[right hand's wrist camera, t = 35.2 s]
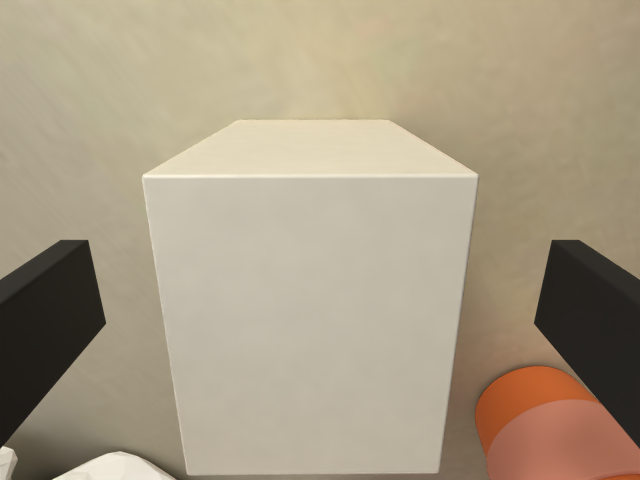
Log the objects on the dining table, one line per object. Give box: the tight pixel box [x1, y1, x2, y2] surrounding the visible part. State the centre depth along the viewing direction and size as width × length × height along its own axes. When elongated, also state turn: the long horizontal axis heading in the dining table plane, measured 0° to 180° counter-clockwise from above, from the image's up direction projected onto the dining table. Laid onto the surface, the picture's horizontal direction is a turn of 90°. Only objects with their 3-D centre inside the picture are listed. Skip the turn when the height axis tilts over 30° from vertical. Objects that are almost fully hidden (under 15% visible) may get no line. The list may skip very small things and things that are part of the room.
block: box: [142, 120, 479, 475], centre depth 15 cm, size 8×7×11 cm
